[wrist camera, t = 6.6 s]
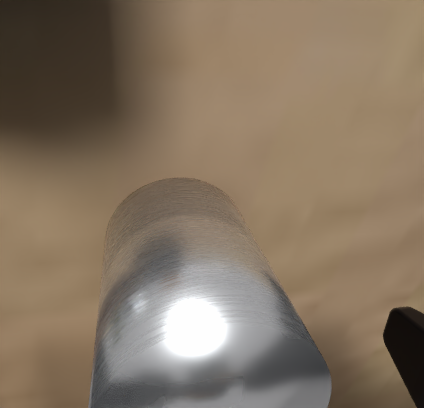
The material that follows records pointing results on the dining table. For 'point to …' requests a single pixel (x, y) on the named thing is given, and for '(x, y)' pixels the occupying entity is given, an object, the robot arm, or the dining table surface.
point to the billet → (196, 311)
